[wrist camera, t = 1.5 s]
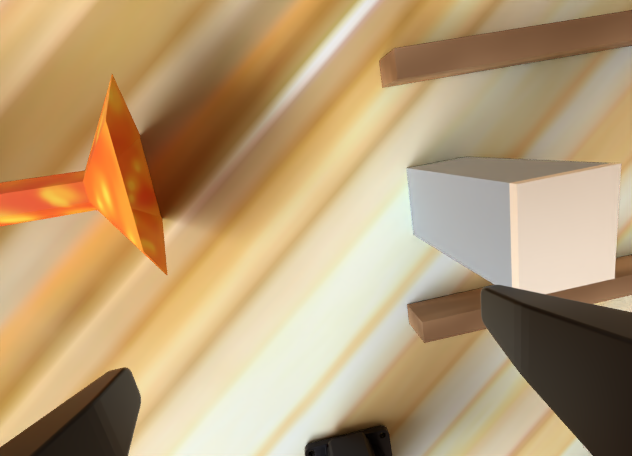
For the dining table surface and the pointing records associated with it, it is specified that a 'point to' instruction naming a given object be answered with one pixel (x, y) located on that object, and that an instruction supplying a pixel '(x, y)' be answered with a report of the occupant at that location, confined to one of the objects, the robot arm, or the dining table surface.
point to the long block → (521, 219)
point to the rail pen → (492, 53)
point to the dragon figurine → (98, 185)
